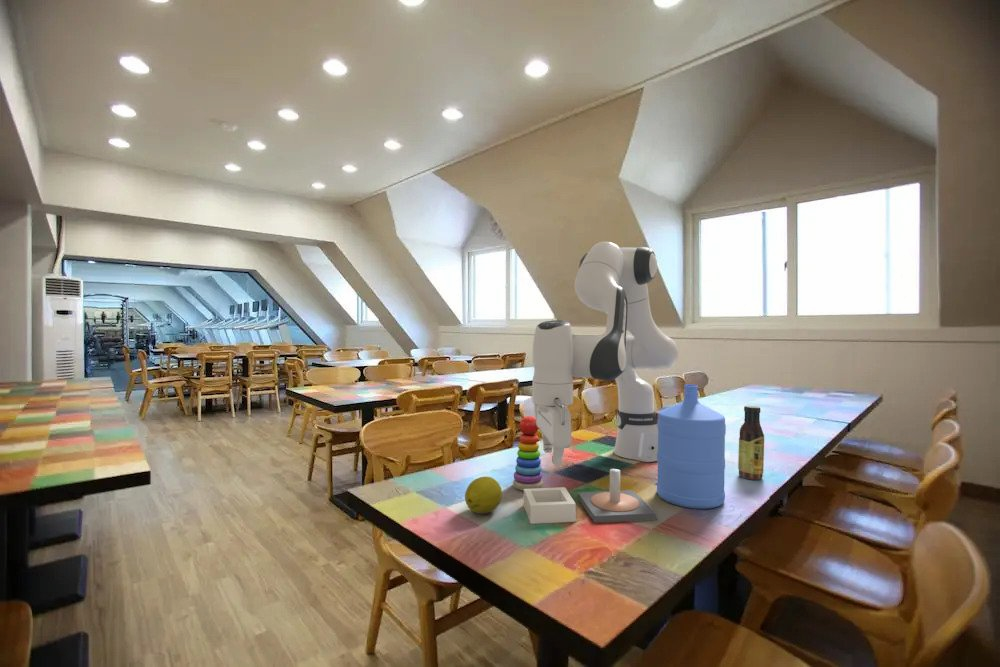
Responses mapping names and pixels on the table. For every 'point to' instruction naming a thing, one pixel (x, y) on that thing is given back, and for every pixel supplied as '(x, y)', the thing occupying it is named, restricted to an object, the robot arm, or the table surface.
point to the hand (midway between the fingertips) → (552, 458)
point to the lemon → (483, 495)
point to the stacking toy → (528, 457)
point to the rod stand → (615, 503)
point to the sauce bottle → (751, 445)
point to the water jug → (691, 453)
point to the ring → (549, 505)
